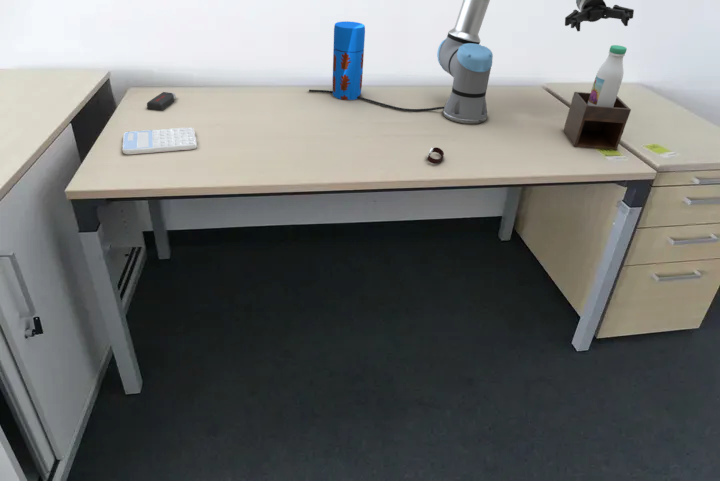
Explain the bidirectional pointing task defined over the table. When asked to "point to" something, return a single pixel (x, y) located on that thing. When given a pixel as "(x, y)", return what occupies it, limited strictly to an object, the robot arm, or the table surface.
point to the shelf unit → (595, 123)
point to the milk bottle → (608, 79)
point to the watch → (436, 152)
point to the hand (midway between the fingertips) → (602, 24)
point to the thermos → (348, 59)
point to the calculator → (159, 140)
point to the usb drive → (161, 101)
